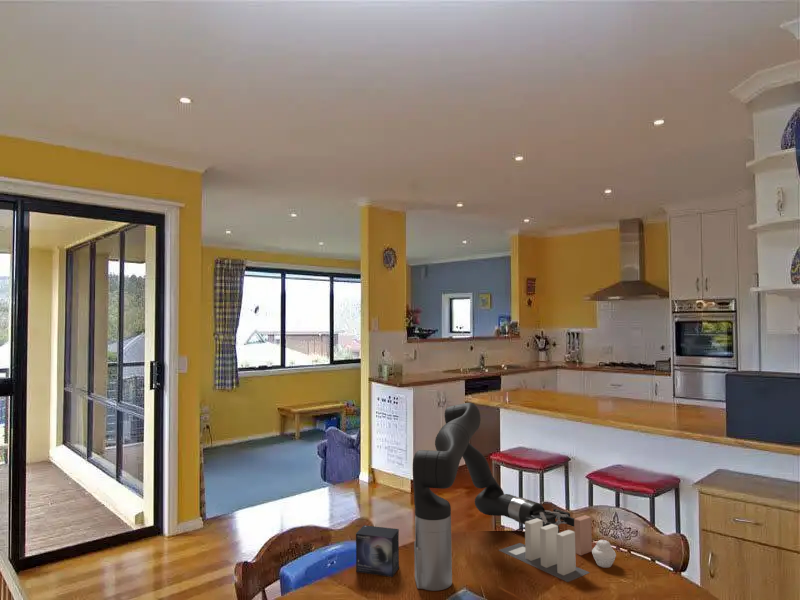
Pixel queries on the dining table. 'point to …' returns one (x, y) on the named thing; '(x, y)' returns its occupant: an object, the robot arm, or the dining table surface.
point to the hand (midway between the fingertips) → (568, 526)
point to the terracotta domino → (583, 535)
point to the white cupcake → (603, 554)
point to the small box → (377, 550)
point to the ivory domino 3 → (566, 552)
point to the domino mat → (520, 554)
